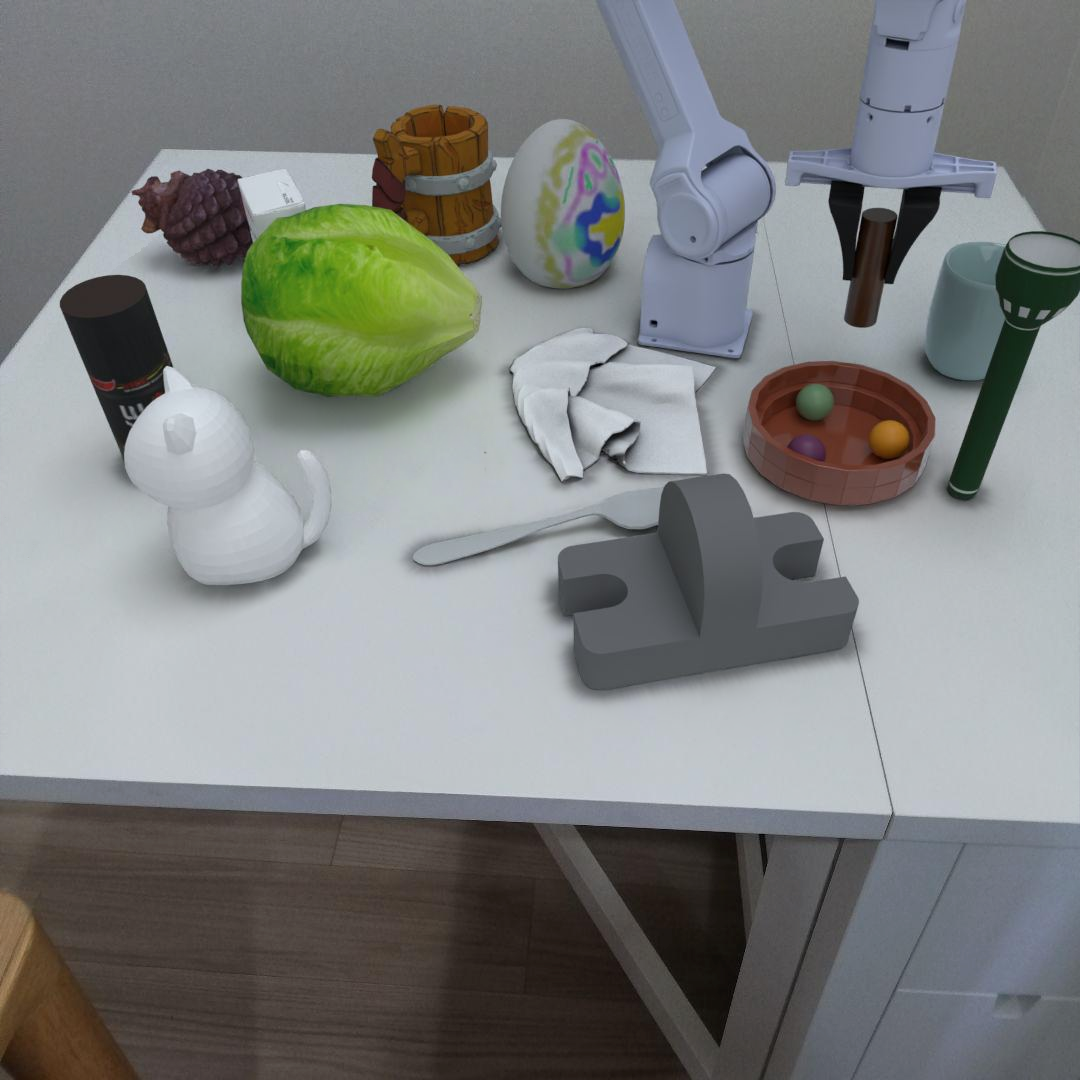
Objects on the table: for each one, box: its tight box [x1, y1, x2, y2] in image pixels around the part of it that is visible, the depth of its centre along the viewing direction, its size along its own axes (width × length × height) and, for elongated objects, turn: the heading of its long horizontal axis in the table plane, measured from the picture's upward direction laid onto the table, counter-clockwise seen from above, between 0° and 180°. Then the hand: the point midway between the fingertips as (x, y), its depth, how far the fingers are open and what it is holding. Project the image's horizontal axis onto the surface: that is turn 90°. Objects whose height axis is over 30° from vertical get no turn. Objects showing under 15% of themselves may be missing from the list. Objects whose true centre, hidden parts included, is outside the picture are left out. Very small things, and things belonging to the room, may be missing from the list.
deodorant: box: [59, 274, 175, 460], centre depth 75 cm, size 6×6×15 cm
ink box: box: [238, 168, 307, 243], centre depth 93 cm, size 8×5×12 cm, turn 23°
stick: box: [843, 207, 899, 329], centre depth 77 cm, size 3×3×9 cm
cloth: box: [508, 327, 717, 482], centre depth 82 cm, size 20×22×2 cm
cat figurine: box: [123, 366, 333, 586], centre depth 66 cm, size 9×12×15 cm
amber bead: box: [869, 420, 909, 459], centre depth 76 cm, size 3×3×3 cm
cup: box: [924, 241, 1007, 382], centre depth 83 cm, size 8×8×10 cm
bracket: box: [557, 473, 860, 691], centre depth 63 cm, size 10×18×11 cm, turn 101°
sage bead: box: [796, 384, 834, 421], centre depth 80 cm, size 3×3×3 cm
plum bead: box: [787, 434, 826, 462], centre depth 75 cm, size 3×3×3 cm
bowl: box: [742, 360, 936, 506], centre depth 77 cm, size 14×14×4 cm
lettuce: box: [240, 203, 483, 398], centre depth 82 cm, size 17×20×15 cm
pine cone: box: [131, 168, 253, 268], centre depth 102 cm, size 18×10×10 cm
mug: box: [371, 104, 502, 266], centre depth 99 cm, size 11×16×15 cm, turn 148°
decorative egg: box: [500, 118, 626, 289], centre depth 95 cm, size 12×12×15 cm
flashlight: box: [947, 230, 1080, 501], centre depth 68 cm, size 5×5×20 cm
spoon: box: [412, 486, 664, 566], centre depth 72 cm, size 4×21×2 cm, turn 104°
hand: (868, 276), depth 78 cm, fingers closed on stick, 2 cm apart
